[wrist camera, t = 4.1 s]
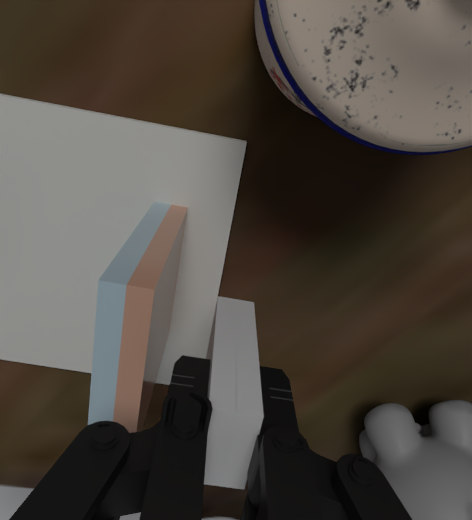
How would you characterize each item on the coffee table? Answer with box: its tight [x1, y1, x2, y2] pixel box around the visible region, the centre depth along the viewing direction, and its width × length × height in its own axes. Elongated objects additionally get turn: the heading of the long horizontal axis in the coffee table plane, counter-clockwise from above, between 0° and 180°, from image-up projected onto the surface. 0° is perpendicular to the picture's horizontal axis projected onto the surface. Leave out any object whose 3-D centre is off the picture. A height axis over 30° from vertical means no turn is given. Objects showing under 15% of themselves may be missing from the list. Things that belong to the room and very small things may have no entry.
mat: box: [0, 94, 247, 385], centre depth 22 cm, size 18×14×1 cm
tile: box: [88, 202, 188, 433], centre depth 18 cm, size 2×7×9 cm, turn 169°
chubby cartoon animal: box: [359, 400, 472, 520], centre depth 24 cm, size 7×12×8 cm, turn 0°
